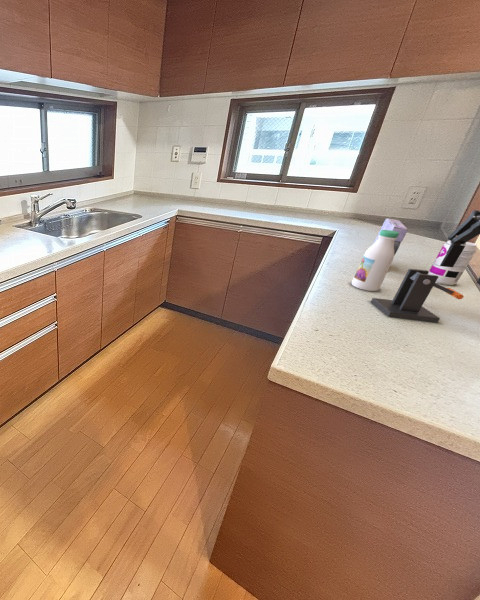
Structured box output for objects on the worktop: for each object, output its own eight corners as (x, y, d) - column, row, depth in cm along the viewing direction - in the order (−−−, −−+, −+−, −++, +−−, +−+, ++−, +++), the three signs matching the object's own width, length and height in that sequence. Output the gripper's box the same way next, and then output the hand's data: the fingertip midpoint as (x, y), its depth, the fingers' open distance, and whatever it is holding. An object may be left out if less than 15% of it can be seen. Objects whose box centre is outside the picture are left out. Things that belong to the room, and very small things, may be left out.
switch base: (415, 307, 101) (436, 268, 95) (437, 322, 92) (462, 281, 86) (370, 301, 103) (388, 264, 98) (388, 316, 95) (409, 276, 89)
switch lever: (445, 294, 95) (453, 287, 94) (458, 301, 91) (466, 294, 89) (406, 276, 96) (413, 269, 94) (417, 282, 91) (425, 275, 90)
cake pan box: (388, 272, 128) (409, 228, 120) (372, 269, 131) (392, 226, 123) (380, 259, 143) (399, 219, 135) (366, 257, 145) (383, 217, 137)
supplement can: (424, 280, 121) (445, 241, 114) (426, 275, 126) (446, 238, 119) (454, 287, 116) (479, 247, 109) (455, 282, 121) (479, 243, 114)
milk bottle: (377, 286, 115) (403, 230, 106) (379, 293, 109) (408, 235, 100) (350, 281, 119) (373, 227, 110) (351, 287, 113) (376, 231, 104)
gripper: (456, 188, 92) (418, 258, 101) (542, 202, 70) (483, 290, 80) (489, 190, 90) (447, 261, 100) (587, 205, 69) (522, 295, 78)
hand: (463, 274), depth 90 cm, fingers open, 13 cm apart
